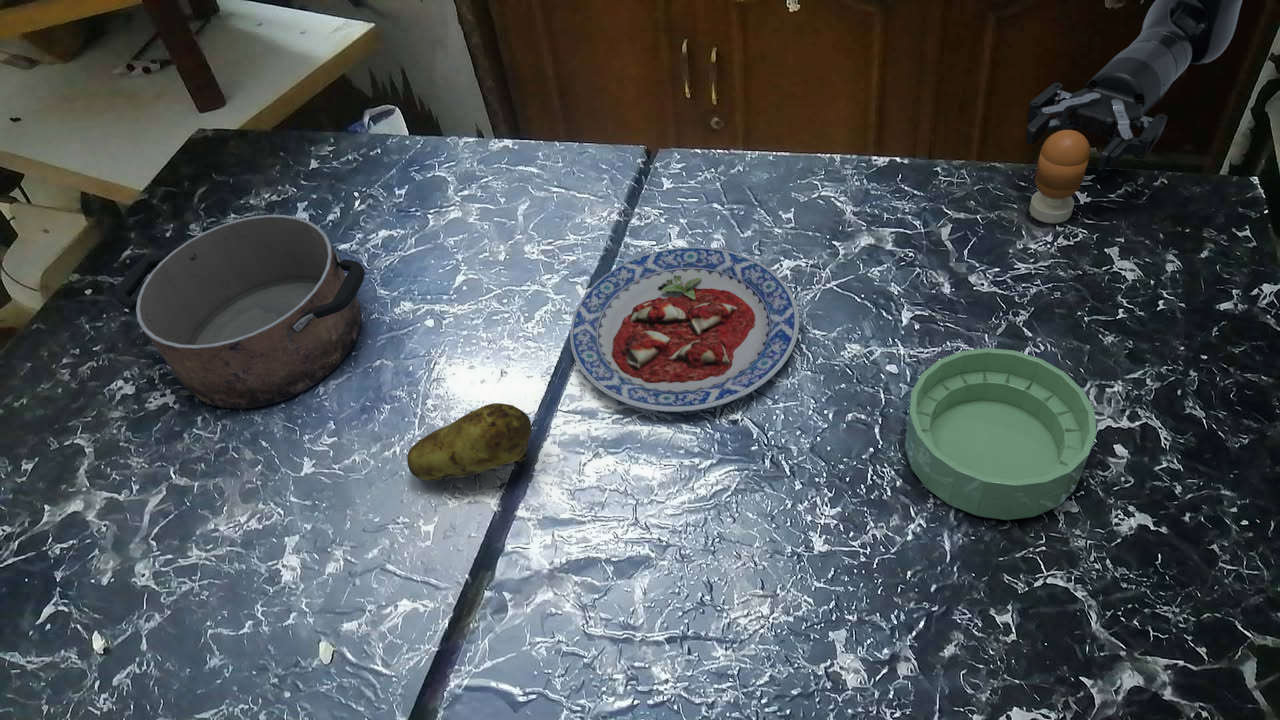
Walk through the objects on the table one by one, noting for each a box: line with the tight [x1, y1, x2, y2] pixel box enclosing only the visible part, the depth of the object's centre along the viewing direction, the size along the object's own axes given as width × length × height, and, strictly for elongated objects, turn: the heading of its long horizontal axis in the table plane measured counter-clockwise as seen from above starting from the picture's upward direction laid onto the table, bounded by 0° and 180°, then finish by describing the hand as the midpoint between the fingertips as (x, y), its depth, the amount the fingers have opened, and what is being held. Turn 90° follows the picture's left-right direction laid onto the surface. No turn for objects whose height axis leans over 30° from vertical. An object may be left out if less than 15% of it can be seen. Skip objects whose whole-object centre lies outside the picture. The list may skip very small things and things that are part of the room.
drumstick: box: [1028, 129, 1091, 224], centre depth 109 cm, size 5×5×11 cm
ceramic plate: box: [569, 246, 800, 413], centre depth 105 cm, size 26×26×3 cm
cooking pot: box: [114, 214, 366, 410], centre depth 110 cm, size 30×22×11 cm
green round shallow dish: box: [904, 347, 1098, 521], centre depth 88 cm, size 16×16×6 cm
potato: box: [406, 402, 532, 482], centre depth 94 cm, size 8×13×8 cm, turn 75°
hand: (1065, 149), depth 106 cm, fingers open, 8 cm apart
